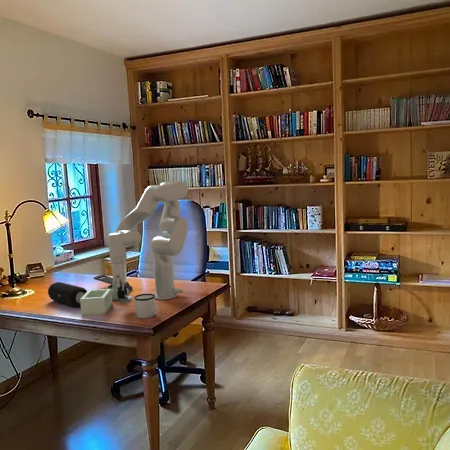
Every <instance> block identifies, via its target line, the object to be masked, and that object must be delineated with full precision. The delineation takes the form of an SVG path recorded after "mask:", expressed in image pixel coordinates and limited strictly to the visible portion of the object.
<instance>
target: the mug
mask: <svg viewBox="0 0 450 450" xmlns="http://www.w3.org/2000/svg"><path fill="white" fill-rule="evenodd" d="M154 294H155V293H141V294H138V295H135V296H134V297H133V299H134V300H135V311H136V314H135V315H136V318H139V319H150V318H152V317H154V316H155V315H156V314H158V313H159V305H158V303H157V302H155V299H154V298H155V295H154Z"/></svg>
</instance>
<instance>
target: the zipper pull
mask: <svg viewBox="0 0 450 450" xmlns="http://www.w3.org/2000/svg"><path fill="white" fill-rule="evenodd" d="M93 280H96V281H99V282H102V283H105V284H109V285H108V286H107V287H106V289H112V288H113V287H112V281H113V277H111V276H109V275H106V274H100V275H99V274H98V275H96V276H94V277H93ZM125 282H126V286H125V287H126V288H128V289H129V291H130V292H131V291H133V286H132V285H130V283H129V282H128V281H127V280H126V281H125Z"/></svg>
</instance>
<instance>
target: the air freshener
mask: <svg viewBox="0 0 450 450" xmlns="http://www.w3.org/2000/svg"><path fill="white" fill-rule="evenodd" d="M112 287H113V288H112V289H111V292H112V301H113V300H114V301H120V299H118V294H117V283H116V284H115V285H114V284H113V281H112ZM130 293H131V291H129V289H128V288H127V295H126V296H130Z"/></svg>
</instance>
